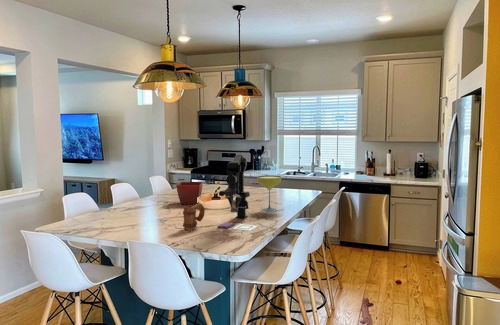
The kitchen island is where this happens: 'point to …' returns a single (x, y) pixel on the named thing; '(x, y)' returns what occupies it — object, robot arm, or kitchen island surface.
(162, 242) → the kitchen island surface
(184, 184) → the plant pot
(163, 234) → the kitchen island surface
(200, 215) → the mug
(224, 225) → the ink pad
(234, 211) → the stamp
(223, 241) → the kitchen island surface
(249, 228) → the sheet
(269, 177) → the cocktail glass
